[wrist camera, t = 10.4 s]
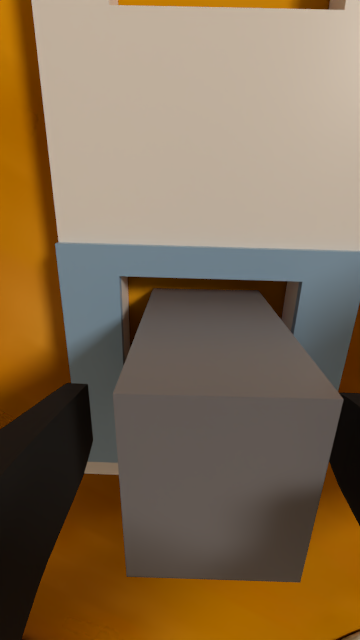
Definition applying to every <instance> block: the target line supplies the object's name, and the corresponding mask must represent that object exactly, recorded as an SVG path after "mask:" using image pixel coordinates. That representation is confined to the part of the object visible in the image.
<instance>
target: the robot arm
mask: <svg viewBox="0 0 360 640" xmlns="http://www.w3.org/2000/svg"><path fill="white" fill-rule="evenodd" d="M339 394H340V395H341V397H342V398H343V399H344V400H343V404H342V408H341V412H340V417H339V421H338V425H337V429H336V433H335V438H334V442H333V446H332V450H331V454H330V459H329V461H330V464H331V467H332V470H333V472H334V475H335V477H336V480H337V482H338V485H339V487H340V489H341V491H342V493H343V495H344V497H345V498H346V500H347V502H348V504H349V506H350V508H351V510H352V512H353V514H354V516H355V518H356V520H357V522H358V523H359V525H360V393H339ZM92 443H93V432H92V421H91V411H90V400H89V390H88V384H77V383H67V384H65V385H63V386H62V387H60V388H59V389H57V390H56V391H54V392H53V393H52V394H50V395H49V396H47V397H46V398H45V399H43V400H42V401H40V402H39V403H38V404H36V405H35V406H33V407H32V408H30V409H29V410H28V411H26V412H25V413H23V414H22V415H21V416H19V417H18V418H16V419H15V420H13V421H12V422H11V423H9V424H8V425H6V426H5V427H3V428H2V429H0V640H21V639H22V635H23V632H24V629H25V626H26V623H27V620H28V617H29V614H30V611H31V608H32V605H33V602H34V598H35V595H36V592H37V589H38V586H39V583H40V580H41V578H42V575H43V572H44V570H45V567H46V565H47V562H48V559H49V557H50V555H51V552H52V550H53V547H54V545H55V543H56V540H57V538H58V535H59V533H60V531H61V528H62V526H63V523H64V521H65V519H66V516H67V514H68V512H69V509H70V507H71V504H72V502H73V500H74V497H75V495H76V492H77V490H78V487H79V485H80V482H81V480H82V477H83V475H84V472H85V468H86V465H87V462H88V458H89V455H90V451H91V447H92Z"/></svg>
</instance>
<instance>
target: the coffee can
mask: <svg viewBox="0 0 360 640" xmlns="http://www.w3.org/2000/svg"><path fill="white" fill-rule="evenodd" d="M341 640H360V631H359V632H357V633H355V634H353V635H349V636H347V637H345V638H343V639H341Z"/></svg>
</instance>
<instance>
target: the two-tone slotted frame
mask: <svg viewBox="0 0 360 640" xmlns="http://www.w3.org/2000/svg"><path fill="white" fill-rule="evenodd" d="M31 1H32V10H33V19H34V28H35V37H36V46H37V55H38V64H39V73H40V82H41V90H42V99H43V108H44V117H45V126H46V135H47V144H48V153H49V162H50V170H51V179H52V188H53V197H54V206H55V215H56V224H57V233H58V243H55V248H56V257H57V266H58V274H59V283H60V291H61V300H62V308H63V317H64V326H65V334H66V343H67V351H68V360H69V368H70V377H71V383H77V384H88V390H89V400H90V411H91V421H92V432H93V443H92V447H91V451H90V455H89V458H88V462H87V465H86V468H85V472H84V473H85V474H110V475H119V469H118V456H117V444H116V431H115V418H114V405H113V392H114V389H115V387H116V384H117V381H118V379H119V376H120V374H121V371H122V368H123V366H124V363H125V361H126V358H127V355H128V353H129V350H130V327H129V299H128V276H129V277H163V278H196V279H230V280H263V281H287V286H286V293H285V299H284V306H283V312H282V319H281V320H282V321H283V323H284V324H285V325H286V326H287V328H288V329H289V330H290V332H291V333H292V334H293V335H294V337H295V338H296V339H297V340H298V342H299V343H300V344H301V346H302V347H303V348H304V349H305V351H306V352H307V353H308V354H309V356H310V357H311V358H312V360H313V361H314V362H315V363H316V365H317V366H318V367H319V368H320V370H321V371H322V372H323V374H324V375H325V376H326V377H327V379H328V380H329V381H330V382H331V384H332V385H333V386H334V388H335V389H336V390H337V391H338V389H339V385H340V381H341V377H342V373H343V369H344V365H345V361H346V357H347V352H348V348H349V344H350V340H351V336H352V332H353V328H354V324H355V320H356V316H357V312H358V307H359V303H360V0H330V4H329V10H324V9H274V8H225V7H175V6H125V5H118V0H31Z"/></svg>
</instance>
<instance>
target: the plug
mask: <svg viewBox="0 0 360 640" xmlns="http://www.w3.org/2000/svg"><path fill="white" fill-rule="evenodd" d="M343 400H344V399H343V398H342V397H341V395H340V394H339V393H338V391H337V390H336V389H335V388H334V386H333V385H332V384H331V382H330V381H329V380H328V379H327V377H326V376H325V375H324V374H323V372H322V371H321V370H320V368H319V367H318V366H317V365H316V363H315V362H314V361H313V360H312V358H311V357H310V356H309V354H308V353H307V352H306V351H305V349H304V348H303V347H302V346H301V344H300V343H299V342H298V340H297V339H296V338H295V337H294V335H293V334H292V333H291V332H290V330H289V329H288V328H287V326H286V325H285V324H284V323H283V321H282V320H281V319H280V317H279V316H278V315H277V314H276V312H275V311H274V310H273V309H272V307H271V306H270V305H269V303H268V302H267V301H266V300H265V298H264V297H263V296H262V295H261V293H260V292H259V291H258V290H219V289H162V288H153V291H152V293H151V296H150V298H149V301H148V304H147V306H146V309H145V311H144V314H143V317H142V319H141V322H140V324H139V327H138V330H137V332H136V335H135V337H134V340H133V343H132V345H131V348H130V350H129V353H128V355H127V358H126V361H125V363H124V366H123V368H122V371H121V374H120V376H119V379H118V381H117V384H116V387H115V389H114V392H113V405H114V418H115V431H116V444H117V456H118V469H119V482H120V495H121V508H122V521H123V534H124V547H125V560H126V573H127V577H156V578H186V579H216V580H246V581H277V582H300V581H301V576H302V572H303V568H304V564H305V560H306V555H307V551H308V547H309V543H310V539H311V534H312V530H313V526H314V522H315V517H316V513H317V509H318V505H319V501H320V496H321V492H322V488H323V484H324V480H325V475H326V471H327V467H328V463H329V459H330V454H331V450H332V446H333V442H334V438H335V433H336V429H337V425H338V421H339V417H340V412H341V408H342V404H343Z"/></svg>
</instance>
